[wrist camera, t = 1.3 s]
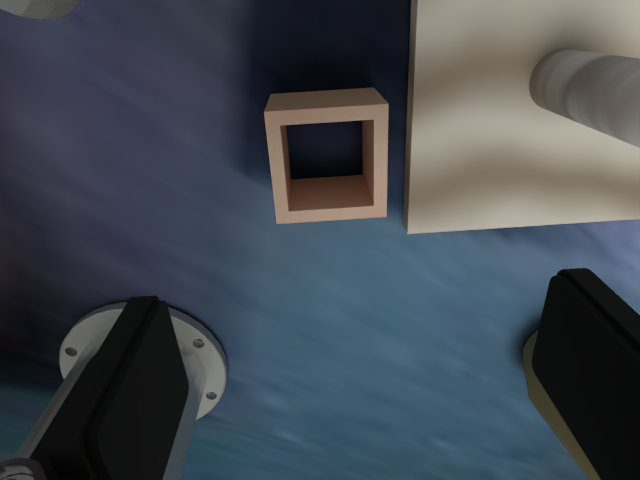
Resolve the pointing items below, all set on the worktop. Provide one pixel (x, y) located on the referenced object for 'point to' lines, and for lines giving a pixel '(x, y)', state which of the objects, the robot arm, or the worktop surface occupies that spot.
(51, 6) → the glass holder
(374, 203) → the collar
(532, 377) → the squeeze bottle
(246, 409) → the worktop surface
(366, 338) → the worktop surface
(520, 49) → the base
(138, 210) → the worktop surface
